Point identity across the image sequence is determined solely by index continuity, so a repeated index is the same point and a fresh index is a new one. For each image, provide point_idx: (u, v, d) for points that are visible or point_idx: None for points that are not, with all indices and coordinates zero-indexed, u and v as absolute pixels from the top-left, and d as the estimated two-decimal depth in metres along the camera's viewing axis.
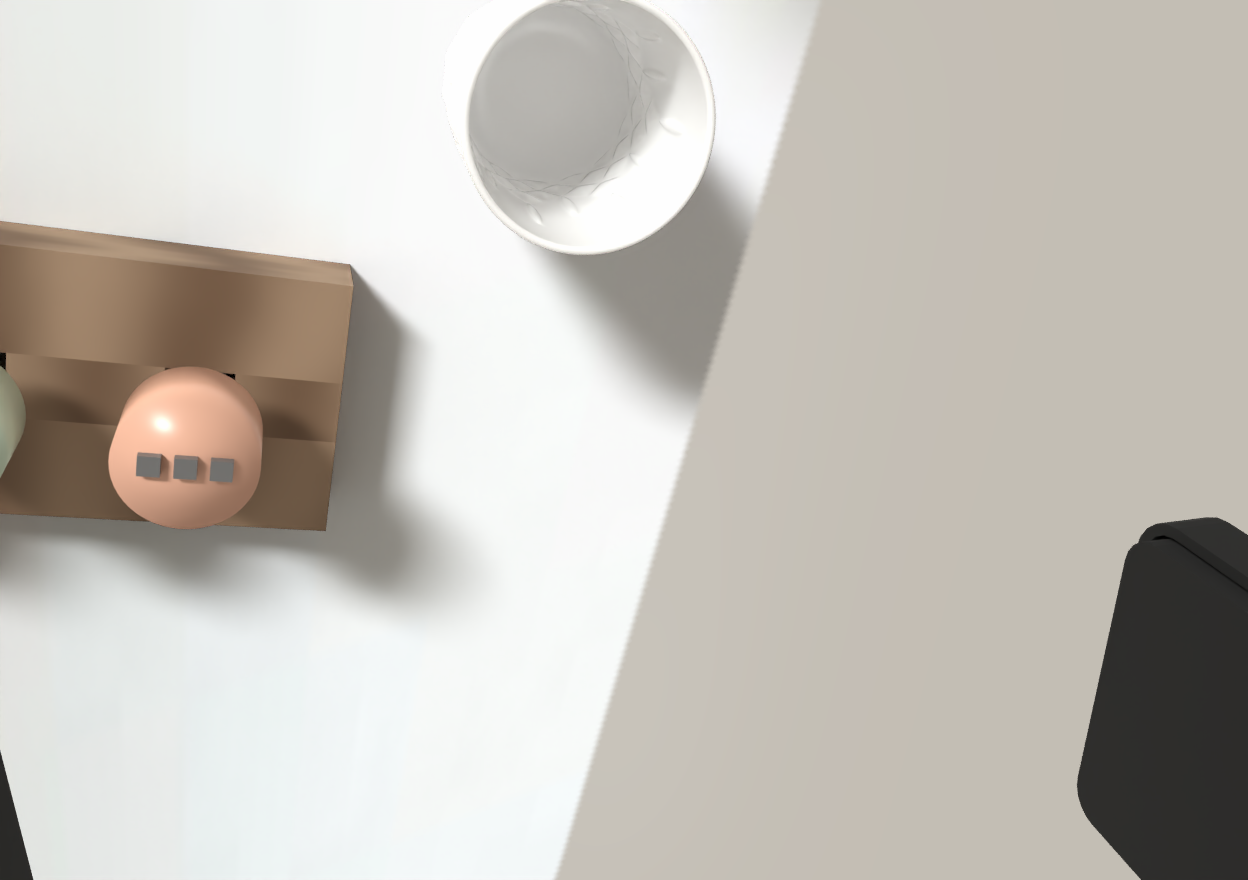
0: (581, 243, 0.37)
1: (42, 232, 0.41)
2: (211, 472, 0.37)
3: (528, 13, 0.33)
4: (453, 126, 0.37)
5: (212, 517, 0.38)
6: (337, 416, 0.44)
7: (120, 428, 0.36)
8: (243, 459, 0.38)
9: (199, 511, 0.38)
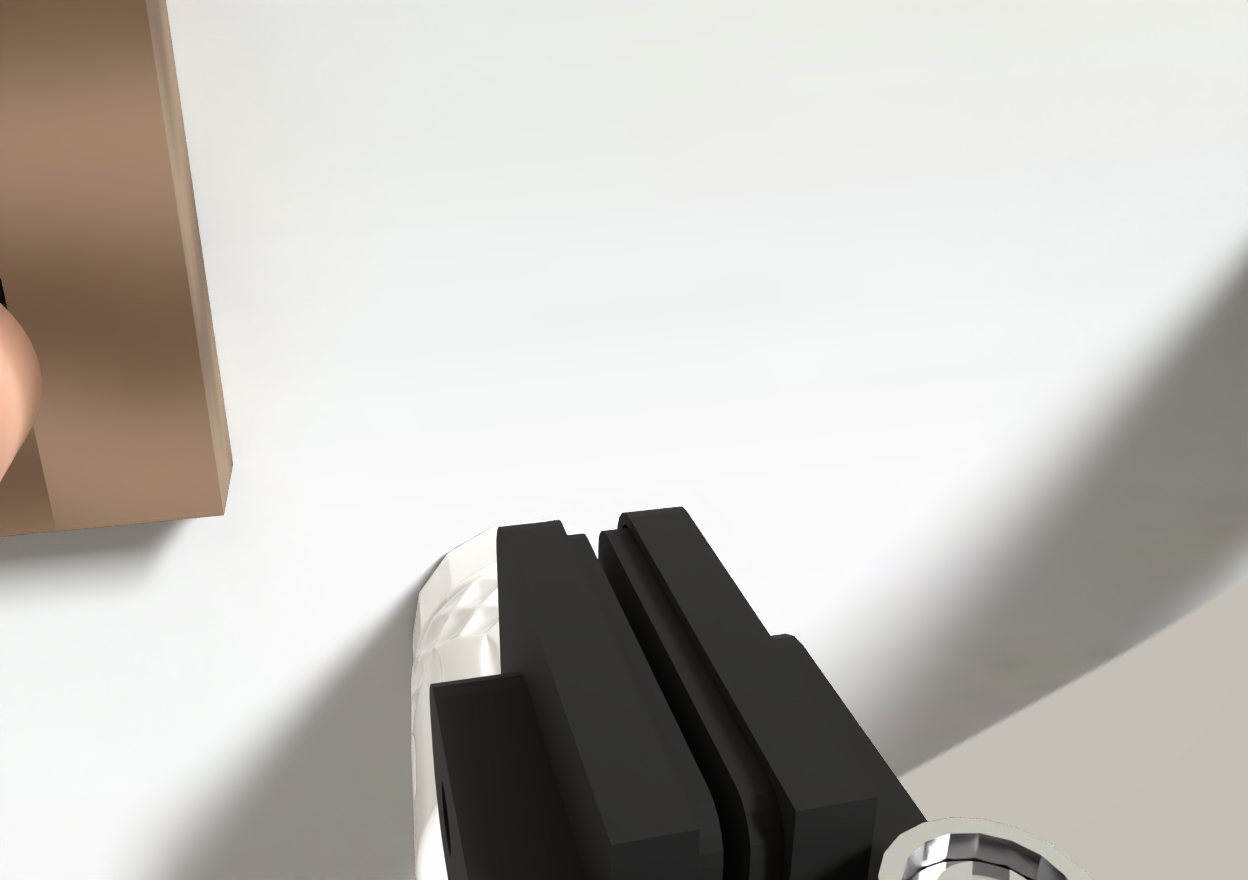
0: None
1: (167, 51, 0.26)
2: None
3: None
4: None
5: None
6: None
7: None
8: None
9: None
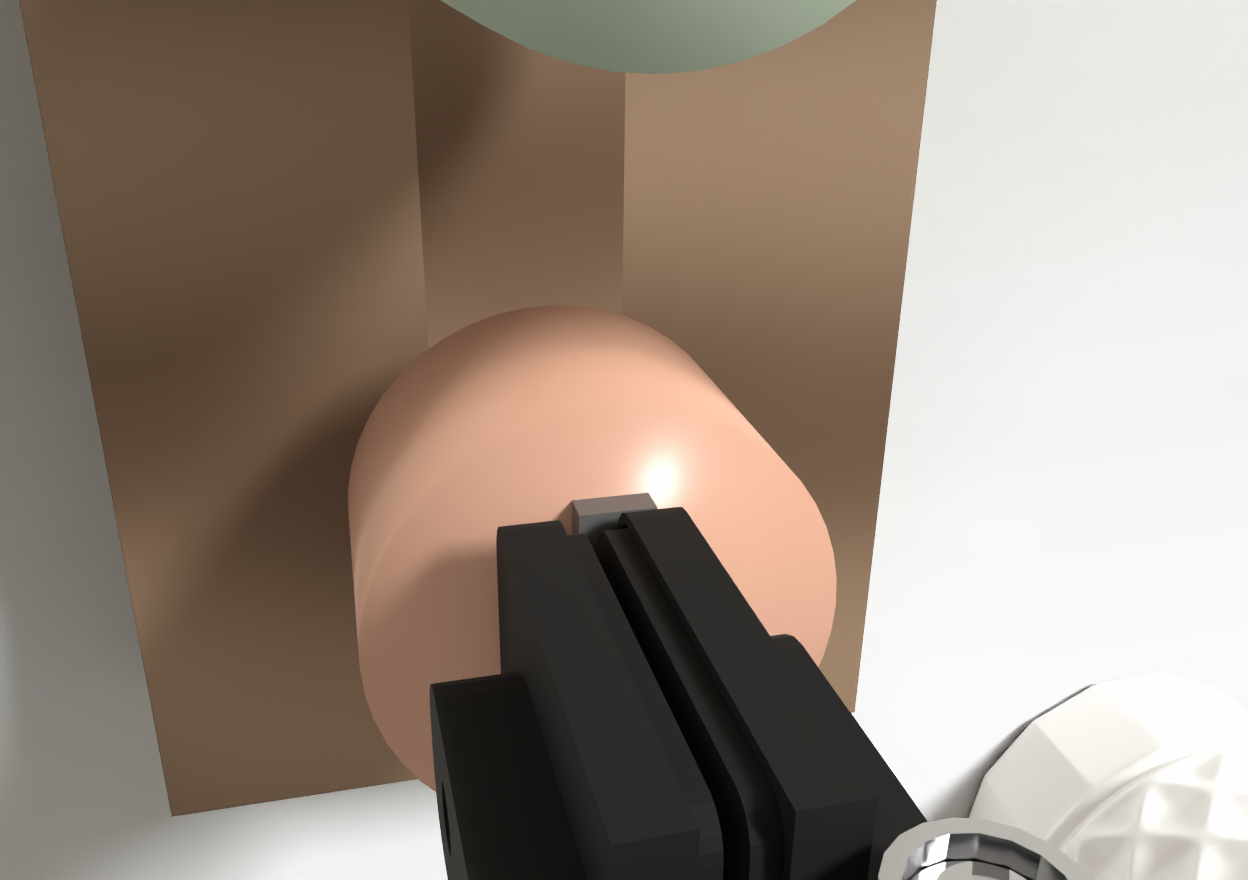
0: None
1: None
2: None
3: None
4: None
5: (420, 741, 0.11)
6: None
7: (731, 429, 0.10)
8: None
9: None
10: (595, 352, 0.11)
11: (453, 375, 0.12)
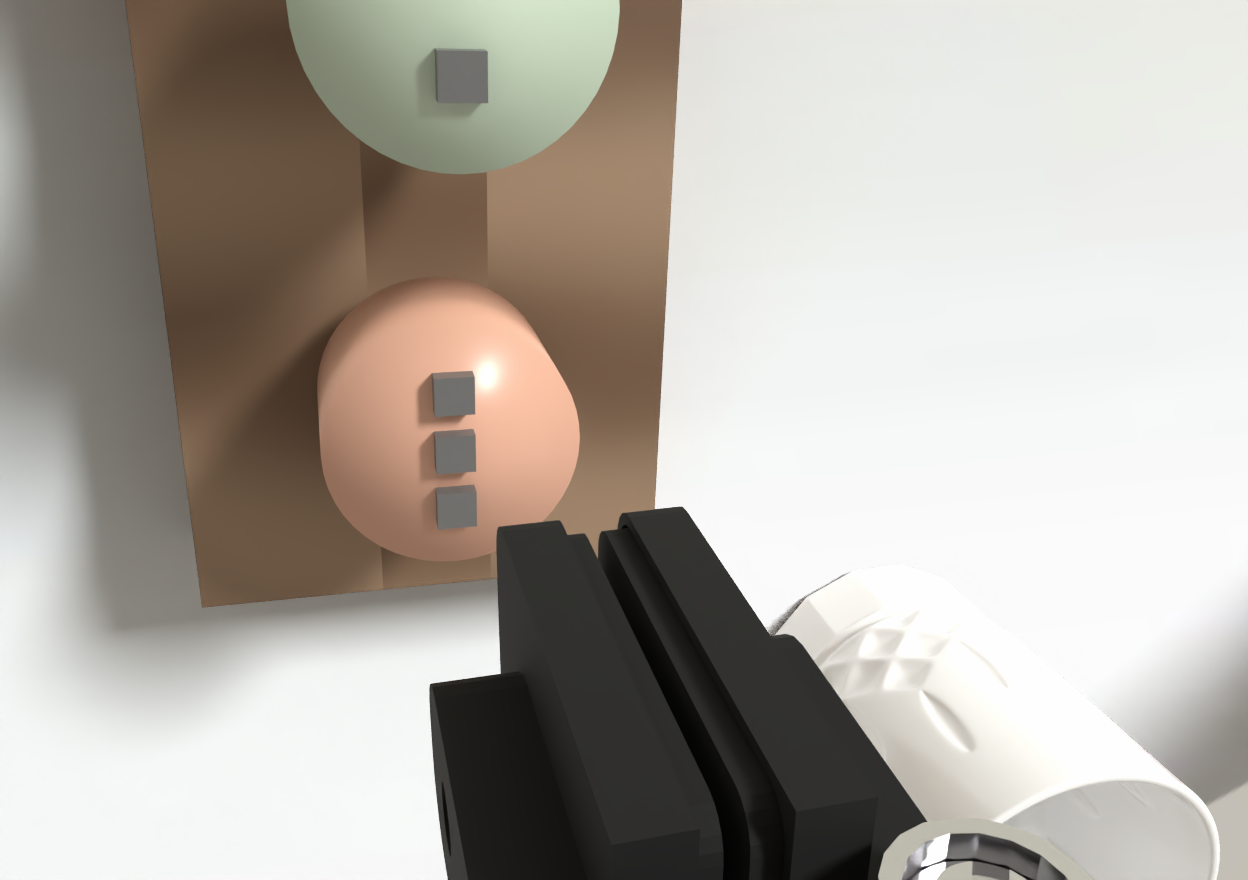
0: None
1: None
2: (455, 496, 0.21)
3: (1199, 812, 0.25)
4: (974, 702, 0.26)
5: (352, 502, 0.21)
6: (431, 582, 0.26)
7: (515, 339, 0.20)
8: (474, 532, 0.21)
9: (362, 480, 0.20)
10: (451, 300, 0.21)
11: (375, 312, 0.21)
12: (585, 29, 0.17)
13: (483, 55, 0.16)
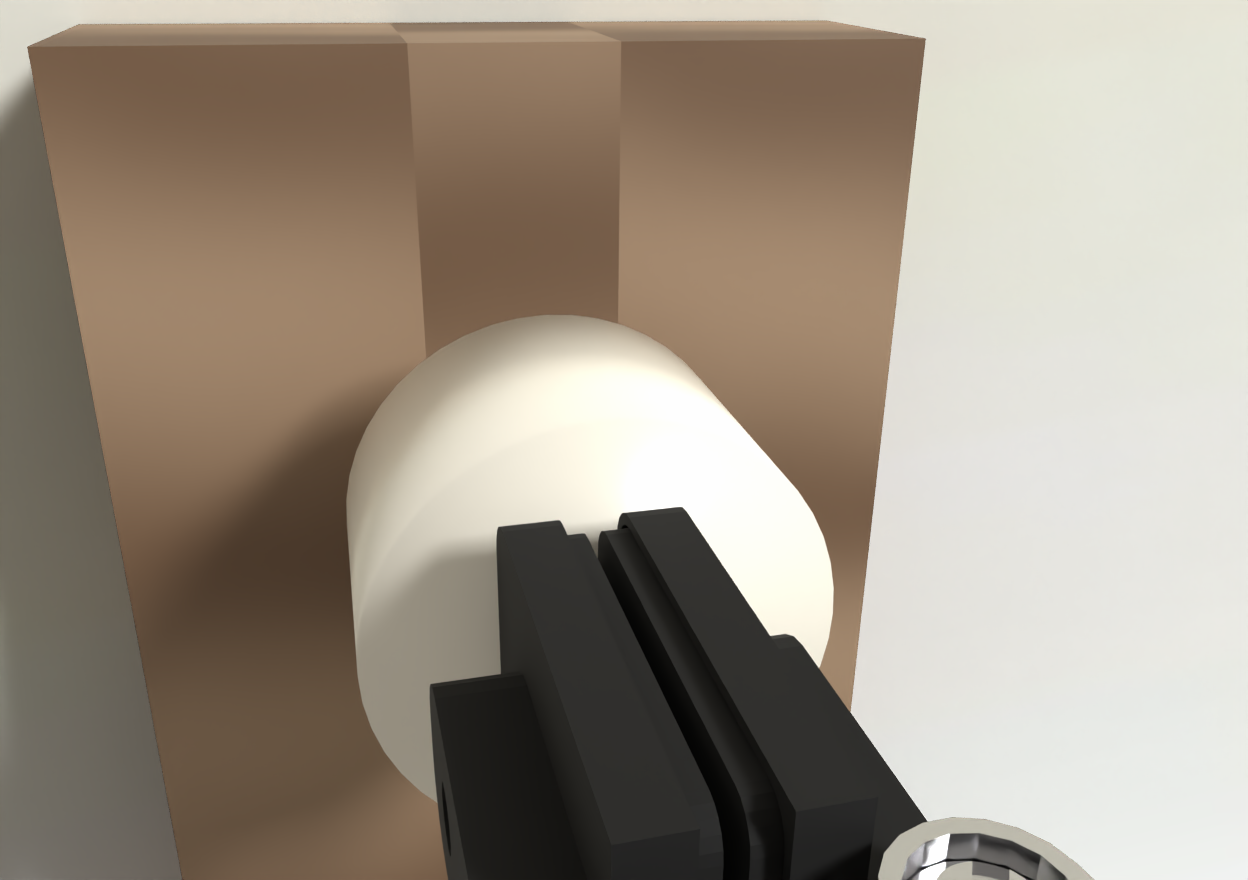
0: None
1: None
2: None
3: None
4: None
5: None
6: None
7: None
8: None
9: None
10: None
11: None
12: None
13: None
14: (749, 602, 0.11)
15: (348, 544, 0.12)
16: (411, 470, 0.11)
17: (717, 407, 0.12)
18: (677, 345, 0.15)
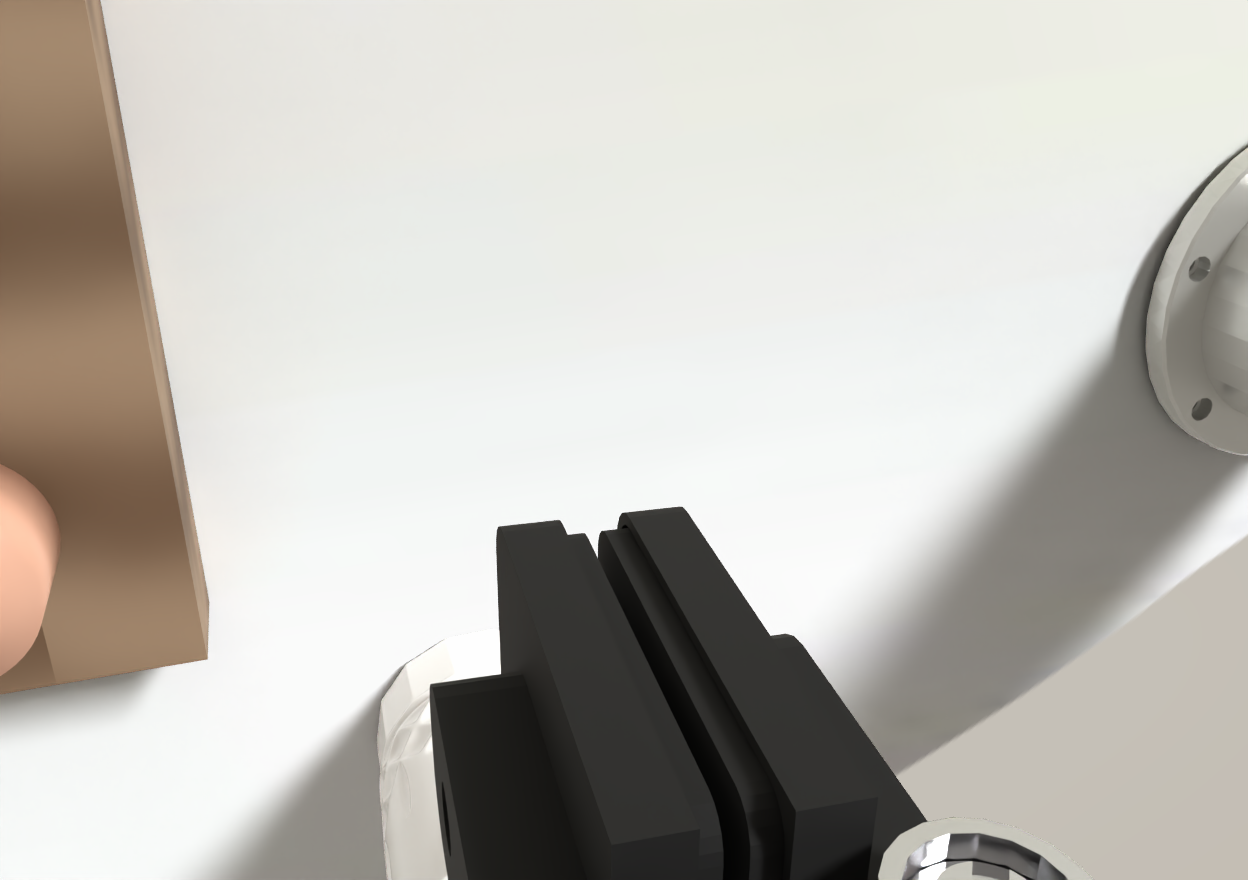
0: None
1: (144, 262, 0.29)
2: None
3: None
4: None
5: None
6: (1, 692, 0.30)
7: None
8: None
9: None
10: None
11: None
12: None
13: None
14: None
15: None
16: None
17: None
18: None
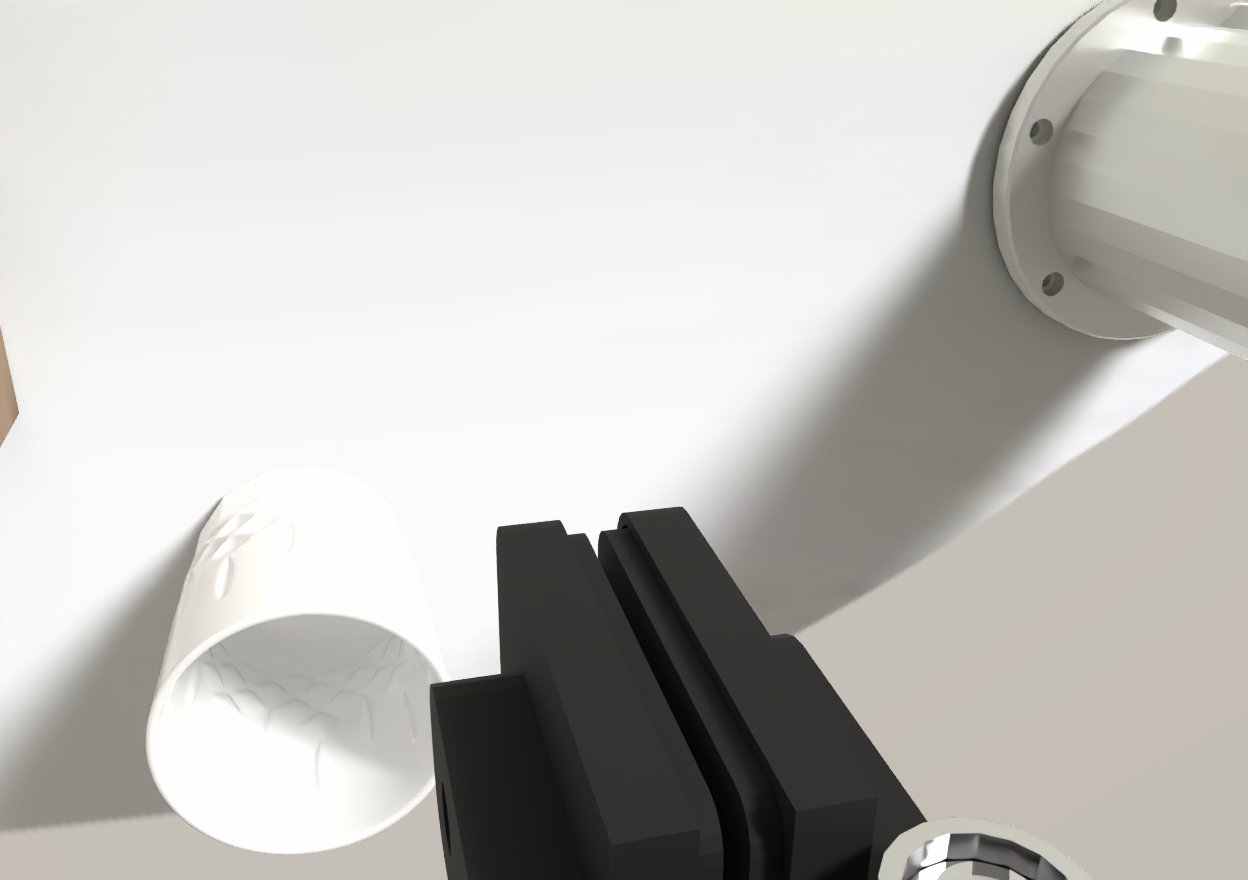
0: (164, 763, 0.30)
1: None
2: None
3: (410, 644, 0.30)
4: (251, 562, 0.31)
5: None
6: None
7: None
8: None
9: None
10: None
11: None
12: None
13: None
14: None
15: None
16: None
17: None
18: None
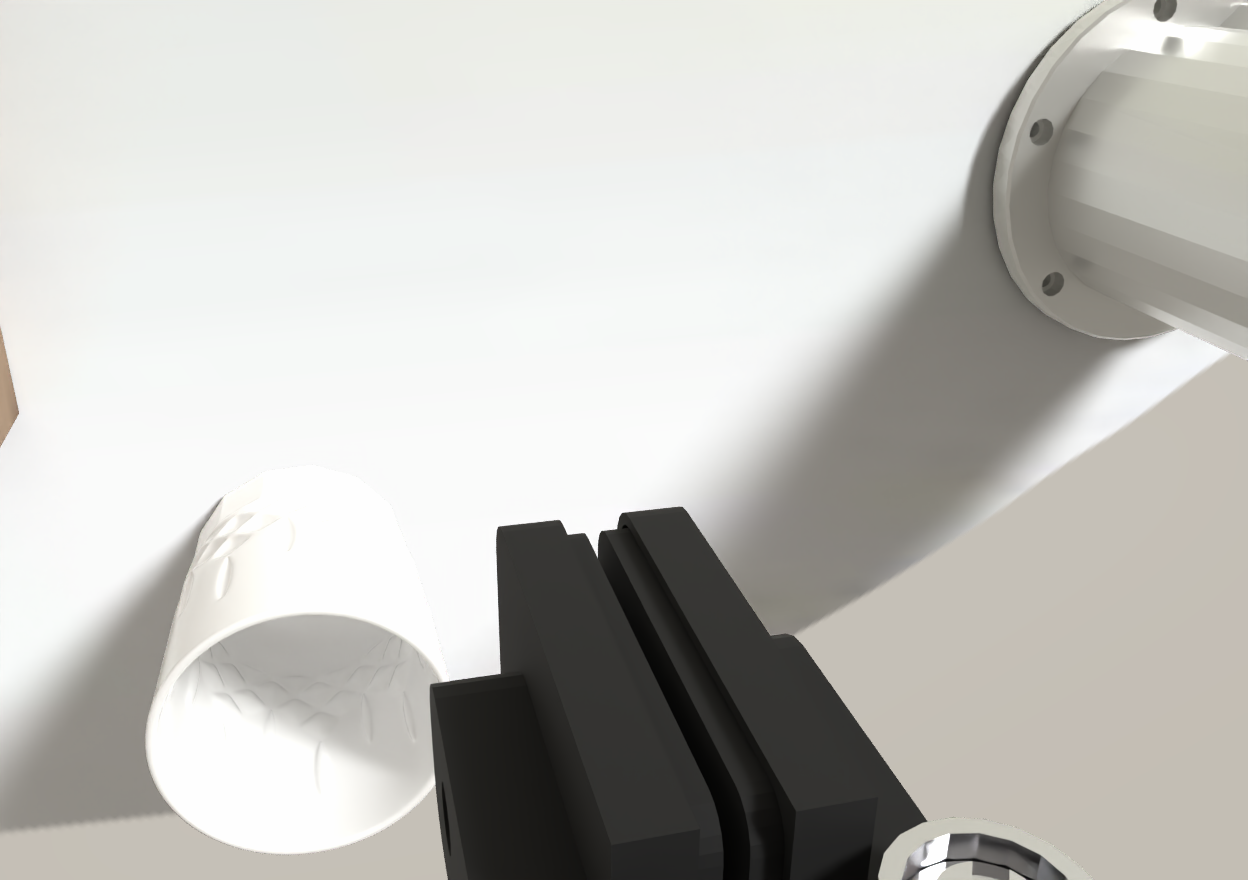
0: (163, 763, 0.30)
1: None
2: None
3: (409, 644, 0.30)
4: (251, 562, 0.31)
5: None
6: None
7: None
8: None
9: None
10: None
11: None
12: None
13: None
14: None
15: None
16: None
17: None
18: None
